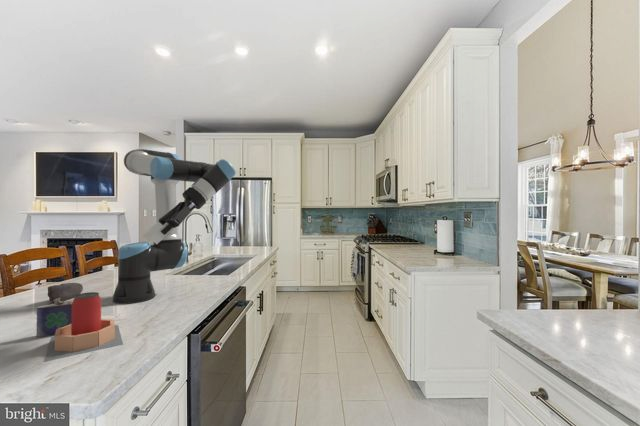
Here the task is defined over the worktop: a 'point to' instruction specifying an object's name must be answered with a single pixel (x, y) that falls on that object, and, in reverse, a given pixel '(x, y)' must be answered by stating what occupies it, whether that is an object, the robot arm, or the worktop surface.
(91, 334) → the dish
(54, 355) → the mat
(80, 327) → the beer can
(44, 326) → the flask
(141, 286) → the robot arm
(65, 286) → the perforated stone tool
